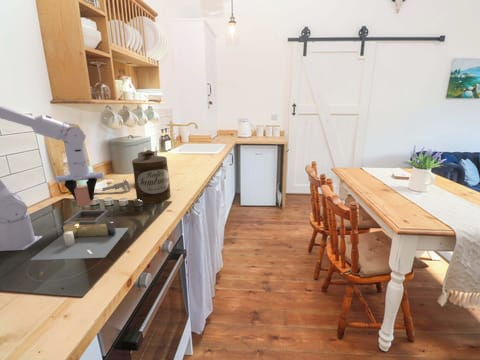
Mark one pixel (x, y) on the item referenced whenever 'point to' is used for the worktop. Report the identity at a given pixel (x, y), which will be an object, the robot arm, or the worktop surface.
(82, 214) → the tray
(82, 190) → the block
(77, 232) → the crank
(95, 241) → the board
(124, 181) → the caliper
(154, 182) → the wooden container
